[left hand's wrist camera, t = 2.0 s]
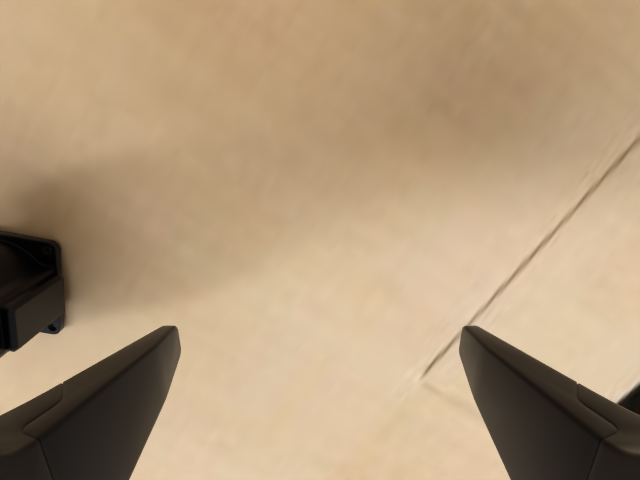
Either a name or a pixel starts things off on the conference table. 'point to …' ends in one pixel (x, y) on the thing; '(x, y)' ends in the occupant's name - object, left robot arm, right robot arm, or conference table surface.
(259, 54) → the conference table surface
